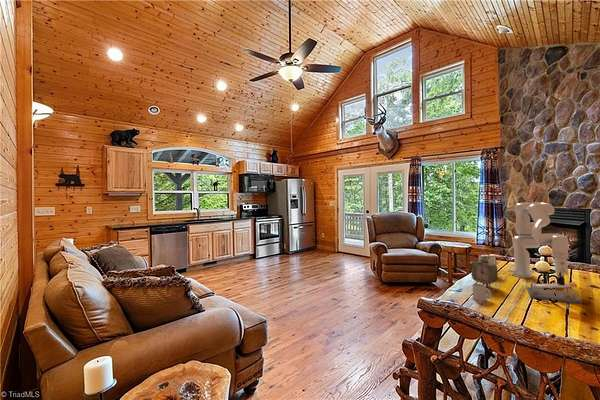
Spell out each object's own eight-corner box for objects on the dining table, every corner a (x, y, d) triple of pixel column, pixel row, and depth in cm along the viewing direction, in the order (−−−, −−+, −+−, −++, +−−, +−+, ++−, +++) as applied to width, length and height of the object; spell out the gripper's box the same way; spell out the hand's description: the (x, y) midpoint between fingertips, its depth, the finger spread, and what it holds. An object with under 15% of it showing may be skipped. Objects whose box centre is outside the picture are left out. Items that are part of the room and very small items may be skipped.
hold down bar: (533, 288, 185) (532, 285, 186) (532, 286, 189) (531, 283, 189) (577, 287, 174) (576, 284, 174) (575, 285, 178) (574, 282, 178)
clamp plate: (530, 297, 182) (530, 286, 182) (527, 289, 195) (526, 279, 195) (582, 304, 169) (581, 292, 169) (574, 295, 182) (574, 284, 182)
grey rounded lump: (474, 296, 188) (473, 283, 188) (492, 299, 182) (491, 285, 182) (471, 299, 183) (471, 286, 183) (490, 303, 176) (490, 288, 176)
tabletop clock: (471, 284, 211) (470, 251, 210) (479, 282, 214) (478, 249, 214) (491, 290, 197) (490, 254, 197) (499, 288, 201) (498, 253, 200)
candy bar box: (493, 274, 232) (493, 254, 232) (497, 276, 227) (496, 255, 227) (478, 274, 234) (478, 254, 234) (481, 276, 229) (481, 255, 229)
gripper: (571, 258, 171) (572, 288, 171) (565, 253, 184) (566, 281, 184) (554, 257, 175) (555, 286, 175) (549, 252, 188) (550, 280, 188)
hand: (560, 284), depth 180 cm, fingers closed
